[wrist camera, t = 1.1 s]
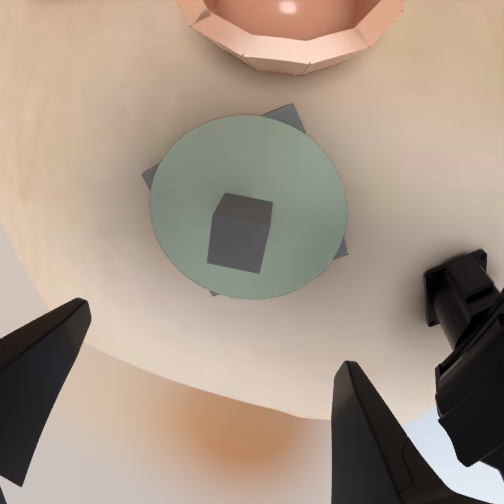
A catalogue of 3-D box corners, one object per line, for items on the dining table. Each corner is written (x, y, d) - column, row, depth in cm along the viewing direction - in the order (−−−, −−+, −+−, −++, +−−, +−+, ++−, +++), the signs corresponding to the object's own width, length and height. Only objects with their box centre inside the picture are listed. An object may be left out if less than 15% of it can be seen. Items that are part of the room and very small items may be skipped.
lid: (367, 142, 16) (392, 157, 12) (313, 304, 23) (317, 346, 19) (163, 103, 16) (129, 108, 12) (154, 271, 23) (132, 307, 19)
